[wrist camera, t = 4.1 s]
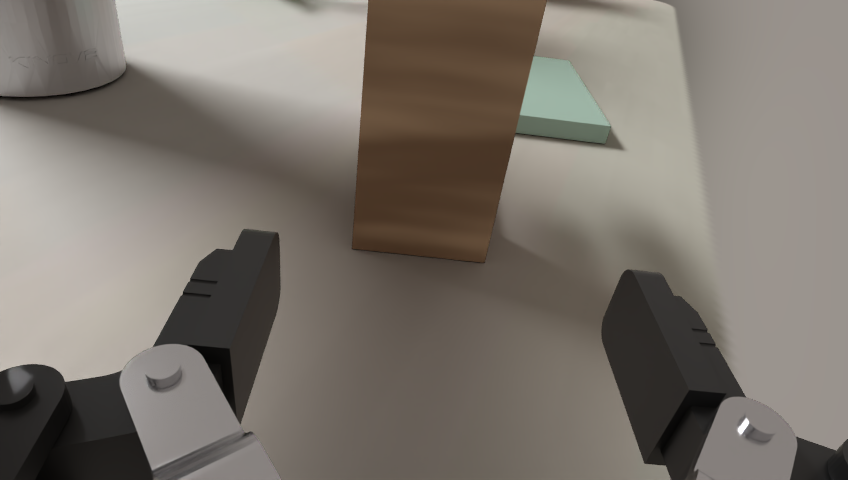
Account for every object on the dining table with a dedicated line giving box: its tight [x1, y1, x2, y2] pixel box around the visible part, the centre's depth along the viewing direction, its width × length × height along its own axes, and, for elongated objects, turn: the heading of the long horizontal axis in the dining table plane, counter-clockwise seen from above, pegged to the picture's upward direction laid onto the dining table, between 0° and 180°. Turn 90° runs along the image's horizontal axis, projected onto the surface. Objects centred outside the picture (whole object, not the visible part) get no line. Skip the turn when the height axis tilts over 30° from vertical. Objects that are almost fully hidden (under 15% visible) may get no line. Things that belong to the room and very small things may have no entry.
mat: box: [515, 56, 611, 144], centre depth 40 cm, size 13×13×1 cm
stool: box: [352, 0, 547, 263], centre depth 25 cm, size 10×6×11 cm, turn 179°
